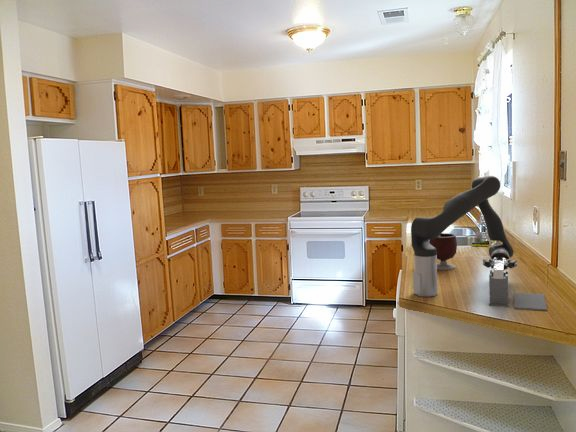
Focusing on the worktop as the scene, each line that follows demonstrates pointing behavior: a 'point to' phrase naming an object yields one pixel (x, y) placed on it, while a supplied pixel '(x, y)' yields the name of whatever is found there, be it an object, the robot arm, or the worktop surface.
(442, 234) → the mate gourd
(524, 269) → the worktop surface
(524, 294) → the mat
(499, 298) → the rack
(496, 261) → the rail
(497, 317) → the worktop surface
